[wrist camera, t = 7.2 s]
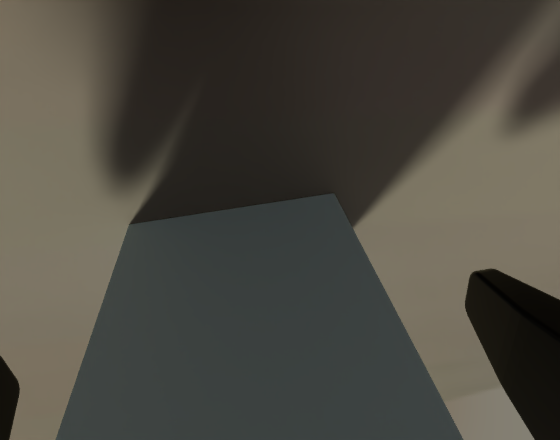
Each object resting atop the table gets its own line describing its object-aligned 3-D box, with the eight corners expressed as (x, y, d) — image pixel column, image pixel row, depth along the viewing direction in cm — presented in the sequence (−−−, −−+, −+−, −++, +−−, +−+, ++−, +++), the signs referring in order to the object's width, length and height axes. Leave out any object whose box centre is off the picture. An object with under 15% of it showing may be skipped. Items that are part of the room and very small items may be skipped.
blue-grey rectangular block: (147, 276, 11) (29, 800, 4) (129, 224, 10) (-60, 778, 3) (336, 245, 11) (526, 687, 4) (334, 193, 10) (566, 637, 3)
